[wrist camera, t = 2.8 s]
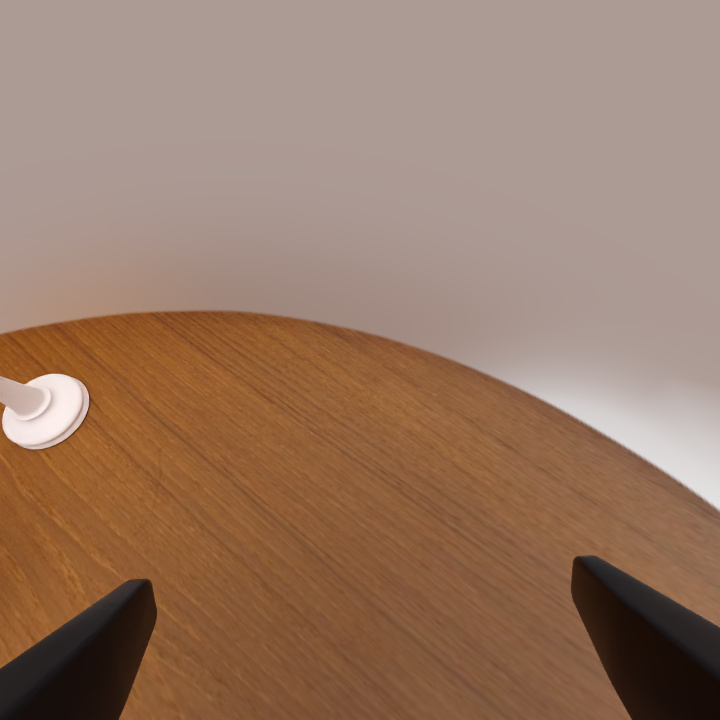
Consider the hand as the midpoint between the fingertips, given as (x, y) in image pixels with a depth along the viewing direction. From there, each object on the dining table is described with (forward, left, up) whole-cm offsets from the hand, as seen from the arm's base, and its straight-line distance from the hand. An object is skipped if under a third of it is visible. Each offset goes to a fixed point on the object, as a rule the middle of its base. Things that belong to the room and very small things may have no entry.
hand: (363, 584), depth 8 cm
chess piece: (+2, +22, -14) cm, 27 cm away
